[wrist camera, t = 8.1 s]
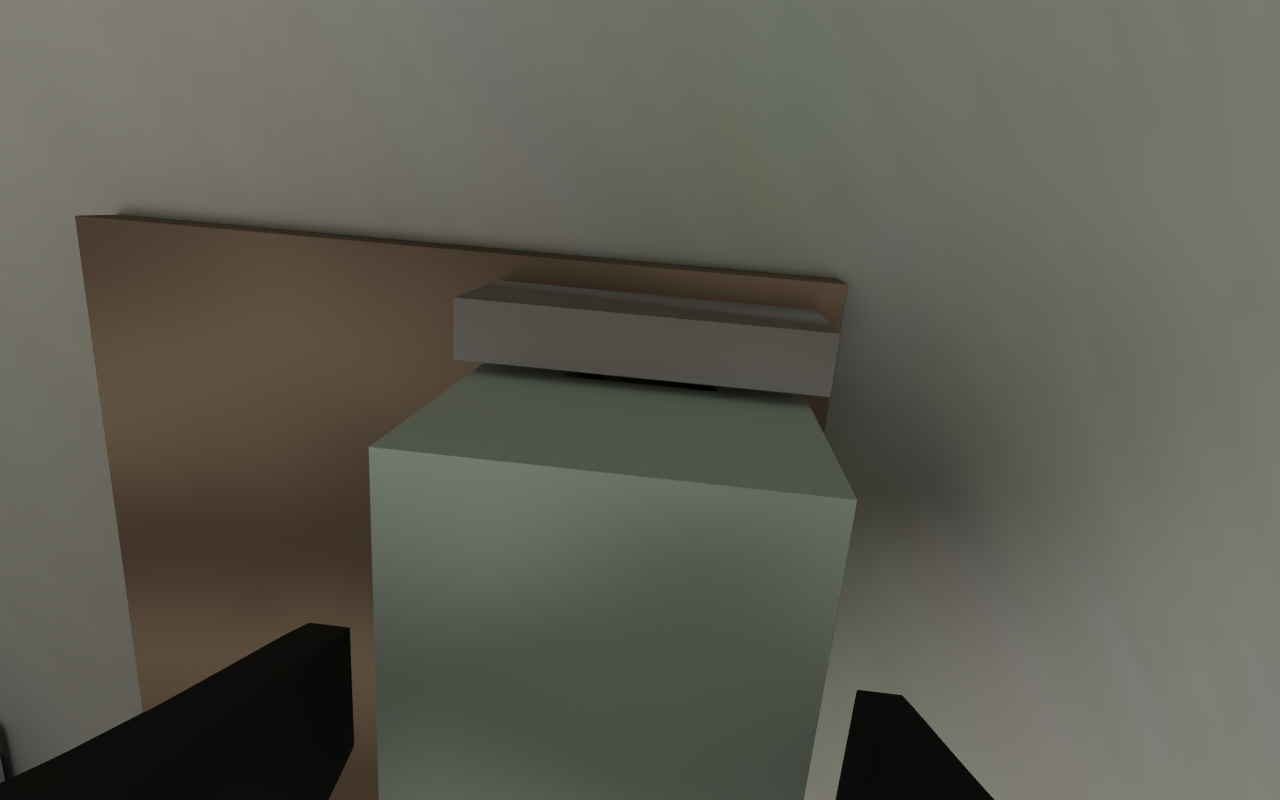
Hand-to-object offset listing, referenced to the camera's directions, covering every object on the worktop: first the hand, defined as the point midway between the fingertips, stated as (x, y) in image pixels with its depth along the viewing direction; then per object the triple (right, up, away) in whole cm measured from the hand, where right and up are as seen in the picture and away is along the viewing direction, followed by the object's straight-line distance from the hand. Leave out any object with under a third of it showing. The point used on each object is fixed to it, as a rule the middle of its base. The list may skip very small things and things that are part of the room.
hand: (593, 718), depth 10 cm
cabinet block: (0, +1, +5) cm, 5 cm away
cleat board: (-4, 0, +6) cm, 7 cm away
